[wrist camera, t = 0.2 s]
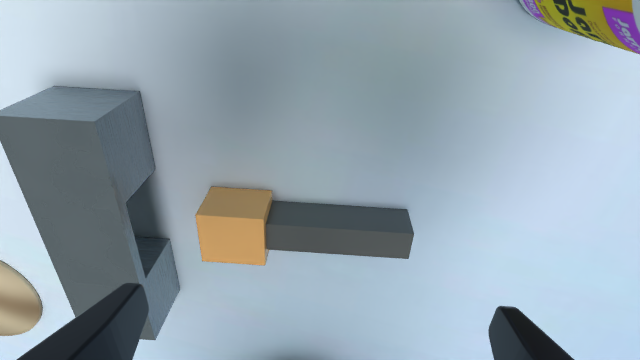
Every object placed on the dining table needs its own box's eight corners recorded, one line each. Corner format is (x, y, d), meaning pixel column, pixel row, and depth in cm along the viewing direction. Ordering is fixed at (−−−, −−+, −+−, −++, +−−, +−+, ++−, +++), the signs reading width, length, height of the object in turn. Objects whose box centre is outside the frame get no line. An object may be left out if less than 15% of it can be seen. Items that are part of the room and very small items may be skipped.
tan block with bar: (400, 242, 26) (407, 275, 24) (216, 229, 27) (202, 261, 24) (409, 199, 24) (418, 229, 22) (211, 186, 25) (195, 214, 22)
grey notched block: (179, 289, 30) (155, 340, 26) (117, 284, 30) (83, 335, 26) (139, 91, 22) (94, 121, 18) (53, 86, 22) (-11, 114, 18)
